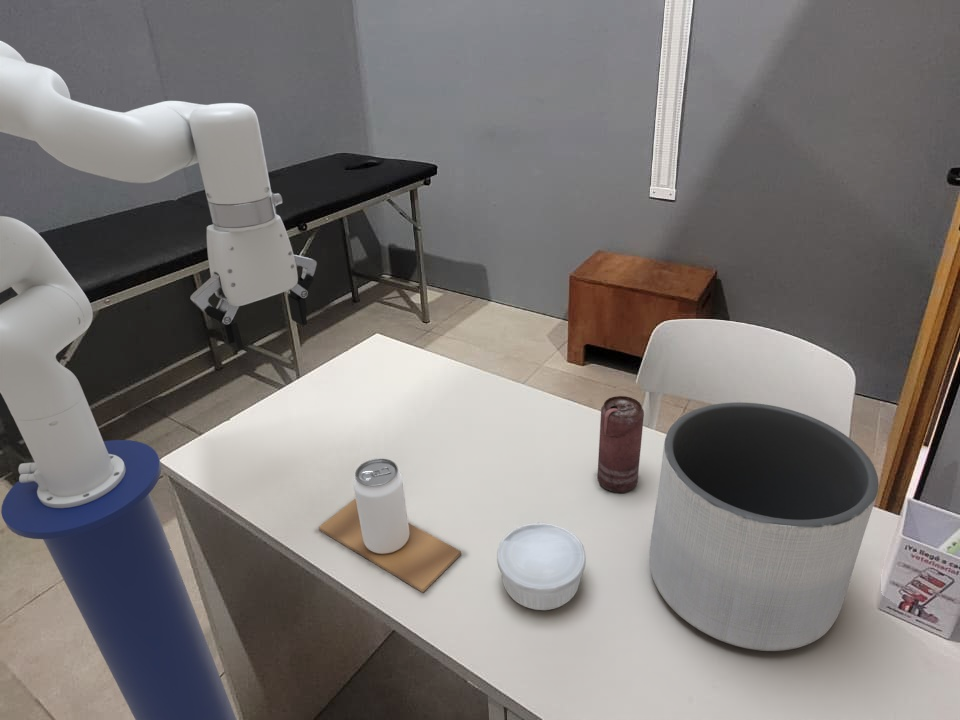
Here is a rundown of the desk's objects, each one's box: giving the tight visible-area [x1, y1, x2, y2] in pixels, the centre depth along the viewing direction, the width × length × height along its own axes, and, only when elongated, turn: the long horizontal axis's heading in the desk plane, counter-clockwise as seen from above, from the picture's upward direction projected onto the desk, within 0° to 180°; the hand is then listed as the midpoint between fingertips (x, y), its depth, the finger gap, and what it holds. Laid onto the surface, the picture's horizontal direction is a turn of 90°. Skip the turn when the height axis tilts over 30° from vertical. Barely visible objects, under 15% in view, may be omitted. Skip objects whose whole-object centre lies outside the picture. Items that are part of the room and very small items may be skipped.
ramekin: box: [496, 522, 587, 611], centre depth 82 cm, size 11×11×5 cm
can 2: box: [596, 395, 645, 494], centre depth 97 cm, size 6×6×14 cm
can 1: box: [353, 457, 409, 554], centre depth 88 cm, size 6×6×12 cm
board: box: [318, 498, 462, 593], centre depth 91 cm, size 20×8×1 cm, turn 53°
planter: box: [649, 402, 879, 652], centre depth 78 cm, size 23×23×20 cm
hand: (268, 334), depth 89 cm, fingers open, 9 cm apart
